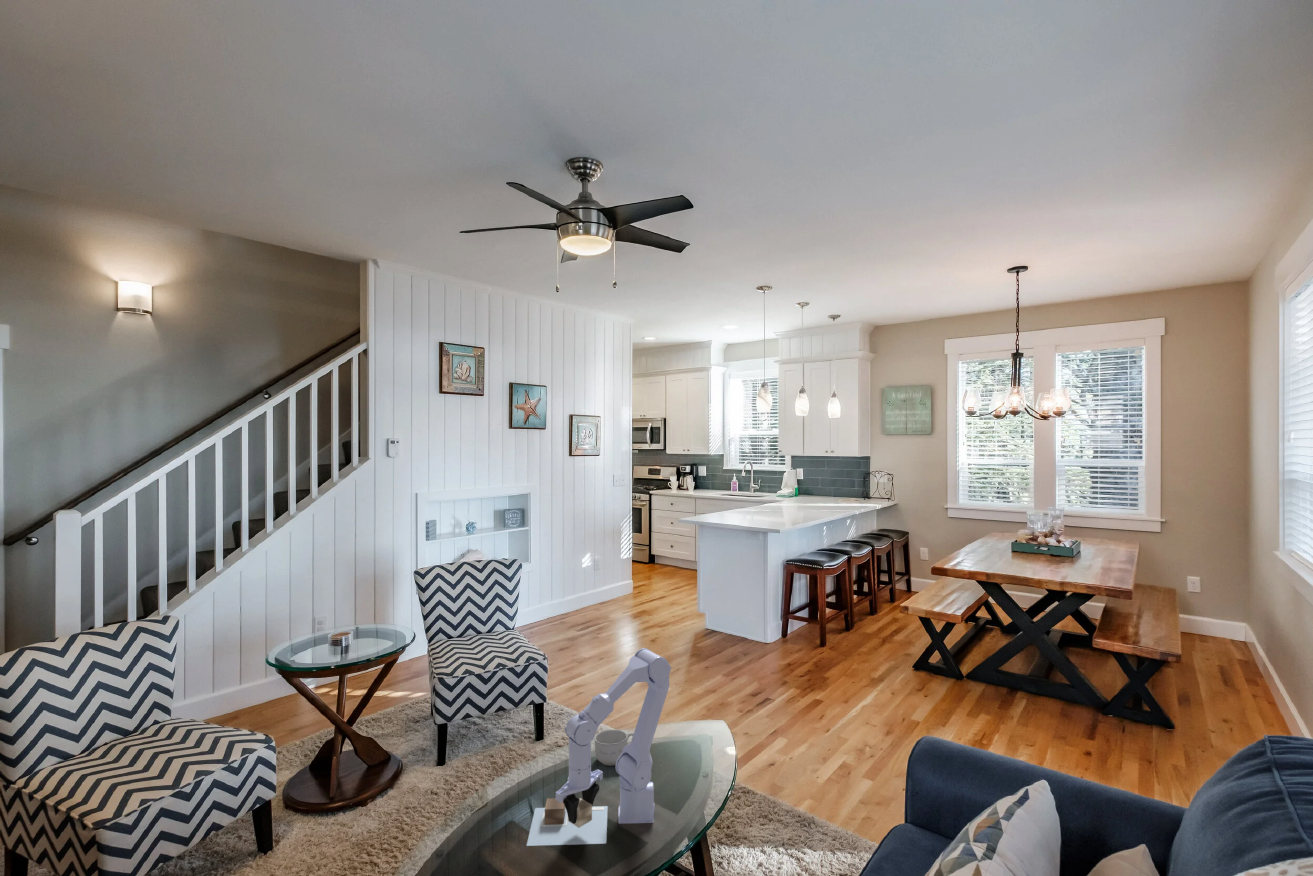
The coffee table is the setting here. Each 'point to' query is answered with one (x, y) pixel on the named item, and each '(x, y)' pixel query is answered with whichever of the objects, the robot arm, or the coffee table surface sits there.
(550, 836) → the board
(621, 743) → the teacup
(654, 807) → the robot arm
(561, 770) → the coffee table surface
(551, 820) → the walnut base
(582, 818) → the maple block
